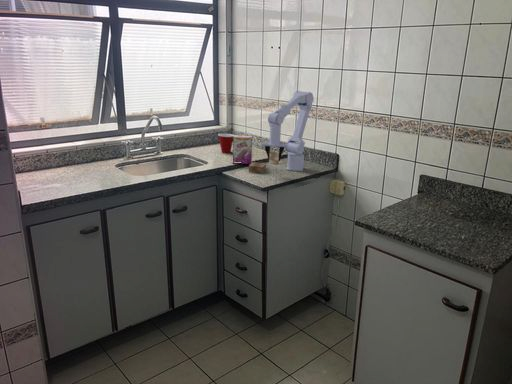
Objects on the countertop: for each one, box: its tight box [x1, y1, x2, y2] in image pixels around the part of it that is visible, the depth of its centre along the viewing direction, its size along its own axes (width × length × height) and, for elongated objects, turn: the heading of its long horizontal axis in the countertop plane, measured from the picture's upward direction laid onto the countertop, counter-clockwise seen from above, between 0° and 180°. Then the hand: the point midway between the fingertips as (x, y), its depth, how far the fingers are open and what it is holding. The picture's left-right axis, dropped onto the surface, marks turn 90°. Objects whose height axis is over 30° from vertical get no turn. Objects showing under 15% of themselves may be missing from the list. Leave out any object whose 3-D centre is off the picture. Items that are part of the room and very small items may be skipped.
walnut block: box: [248, 161, 267, 174], centre depth 235 cm, size 8×8×4 cm
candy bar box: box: [232, 134, 254, 165], centre depth 247 cm, size 11×5×16 cm, turn 84°
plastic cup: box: [217, 133, 235, 154], centre depth 271 cm, size 11×11×12 cm
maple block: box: [268, 150, 280, 166], centre depth 225 cm, size 5×5×6 cm
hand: (274, 160), depth 225 cm, fingers closed on maple block, 5 cm apart
